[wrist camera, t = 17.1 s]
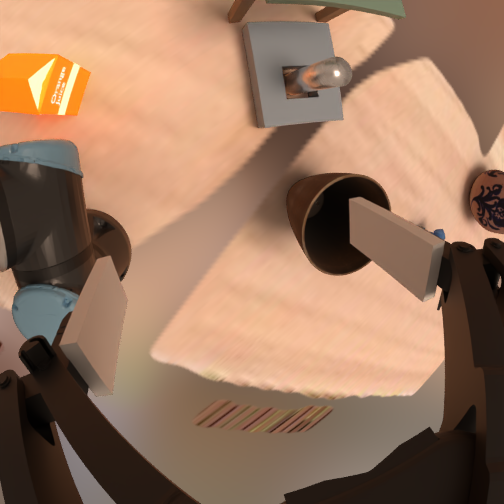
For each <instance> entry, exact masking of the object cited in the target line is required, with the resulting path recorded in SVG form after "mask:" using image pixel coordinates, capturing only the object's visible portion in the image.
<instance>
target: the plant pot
mask: <svg viewBox="0 0 504 504" xmlns="http://www.w3.org/2000/svg"><path fill="white" fill-rule="evenodd" d="M357 197H362V198H364V199H366V200H368V201H370V202H372V203H374V204H376V205H378V206H380V207H382V208H384V209H386V210H388V211H390V212H391V206H390V202H389V199H388V196H387V194H386V192H385V190H384V189H383V188H382V186H381V185H380V184H379V183H378V182H376V181H375V180H374V179H372V178H370V177H368V176H365V175H360V174H351V173H326V174H319V175H314V176H311V177H307V178H305V179H302V180H300V181H299V182H297V183H295V184H294V185H293V186H292V187H291V189H290V190H289V192H288V195H287V212H288V217H289V221H290V224H291V227H292V229H293V232H294V234H295V236H296V238H297V241H298V243H299V244H300V246H301V248H302V250H303V251H304V253H305V255H306V257H307V258H308V260H309V261H310V263H311V264H312V265H313V266H314V267H315V268H316V269H318V270H319V271H321V272H323V273H325V274H329V275H335V276H339V275H347V274H350V273H353V272H356V271H358V270H360V269H361V268H363V267H364V266H366V265H367V264H368V263H370V262H371V261H372V260H371V259H370V258H368V257H367V256H366V255H365V254H363V253H362V252H361V251H359V250H358V249H357V248H356V247H354V246H353V245H352V244H350V212H349V199H352V198H357ZM317 202H318V205H317Z"/></svg>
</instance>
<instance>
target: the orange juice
mask: <svg viewBox="0 0 504 504" xmlns="http://www.w3.org/2000/svg"><path fill="white" fill-rule="evenodd" d="M90 73H91V72H89V71H87V70H85V69H83V68H82V67H80V66H79V65H77V64H75V63H73V62H71V61H69V60H67V59H65V58H64V57H62V56H60V55H58V54H31V53H18V54H7V56H5V57H4V58H2V59H1V60H0V111H7V112H18V113H27V114H36V115H39V114H40V115H42V114H57V115H78V111H79V108H80V104H81V101H82V97H83V94H84V91H85V88H86V85H87V82H88V79H89V76H90Z"/></svg>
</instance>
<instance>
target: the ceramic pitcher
mask: <svg viewBox="0 0 504 504" xmlns="http://www.w3.org/2000/svg"><path fill="white" fill-rule="evenodd" d="M470 206H471V211H472V213H473V215H474V217H475V219H476V220H477V222H478V223H479V224H480V225H481V226H482V227H483V228H485V229H486V230H488V231H490V232H494V233H499V234H504V172H502V171H500V170H488V171H486V172H483V173H482V174H481V175H480V176H479V177H478V178H477V179H476V180H475V182H474V184H473V186H472V189H471V193H470Z"/></svg>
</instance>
